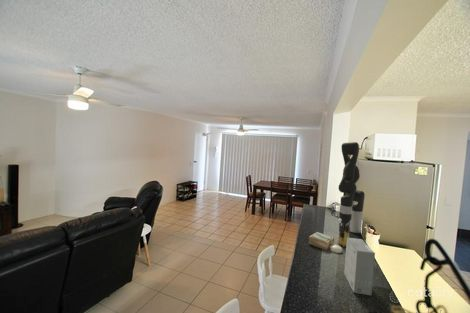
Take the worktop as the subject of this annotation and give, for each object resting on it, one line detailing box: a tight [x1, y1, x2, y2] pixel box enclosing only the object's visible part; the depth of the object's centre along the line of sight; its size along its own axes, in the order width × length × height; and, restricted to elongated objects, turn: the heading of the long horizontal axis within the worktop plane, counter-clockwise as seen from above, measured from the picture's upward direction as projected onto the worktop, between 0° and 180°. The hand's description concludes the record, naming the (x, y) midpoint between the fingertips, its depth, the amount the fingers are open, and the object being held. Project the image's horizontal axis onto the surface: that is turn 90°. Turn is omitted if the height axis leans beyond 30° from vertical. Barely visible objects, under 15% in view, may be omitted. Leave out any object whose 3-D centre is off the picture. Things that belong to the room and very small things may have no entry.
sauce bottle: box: [337, 220, 351, 248], centre depth 144 cm, size 6×6×20 cm
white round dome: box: [329, 244, 343, 254], centre depth 137 cm, size 7×7×2 cm
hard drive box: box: [343, 237, 376, 296], centre depth 103 cm, size 16×8×20 cm, turn 168°
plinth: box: [308, 231, 335, 251], centre depth 145 cm, size 12×12×5 cm
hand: (343, 235), depth 144 cm, fingers closed on sauce bottle, 6 cm apart
